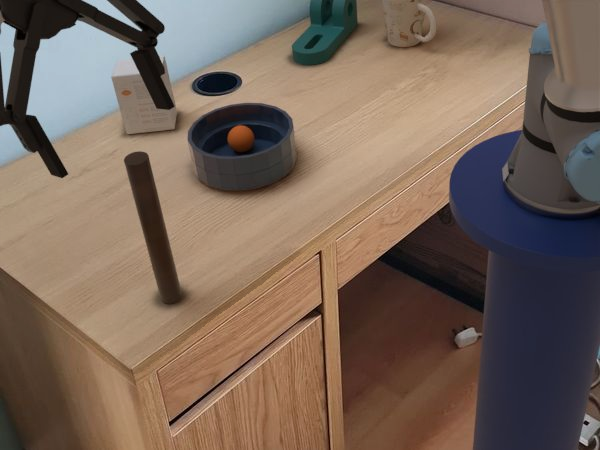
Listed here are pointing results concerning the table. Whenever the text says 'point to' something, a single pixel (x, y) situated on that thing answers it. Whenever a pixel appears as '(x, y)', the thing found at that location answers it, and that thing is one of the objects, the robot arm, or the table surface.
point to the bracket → (325, 30)
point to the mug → (407, 22)
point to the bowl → (242, 165)
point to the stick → (153, 225)
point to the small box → (141, 100)
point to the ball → (241, 138)
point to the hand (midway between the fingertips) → (115, 140)
